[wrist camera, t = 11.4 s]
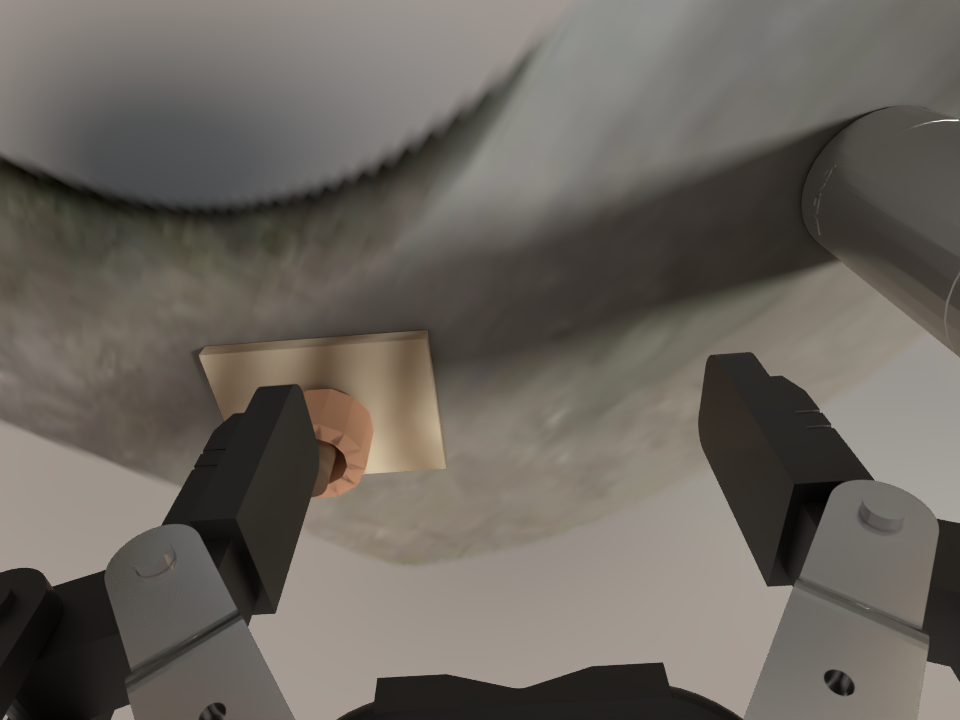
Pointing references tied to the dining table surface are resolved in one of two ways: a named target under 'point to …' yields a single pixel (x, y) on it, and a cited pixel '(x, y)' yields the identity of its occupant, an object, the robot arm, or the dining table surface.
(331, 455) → the post
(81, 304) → the dining table surface
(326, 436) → the ring
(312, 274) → the dining table surface
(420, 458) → the base board
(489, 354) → the dining table surface
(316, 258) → the dining table surface
